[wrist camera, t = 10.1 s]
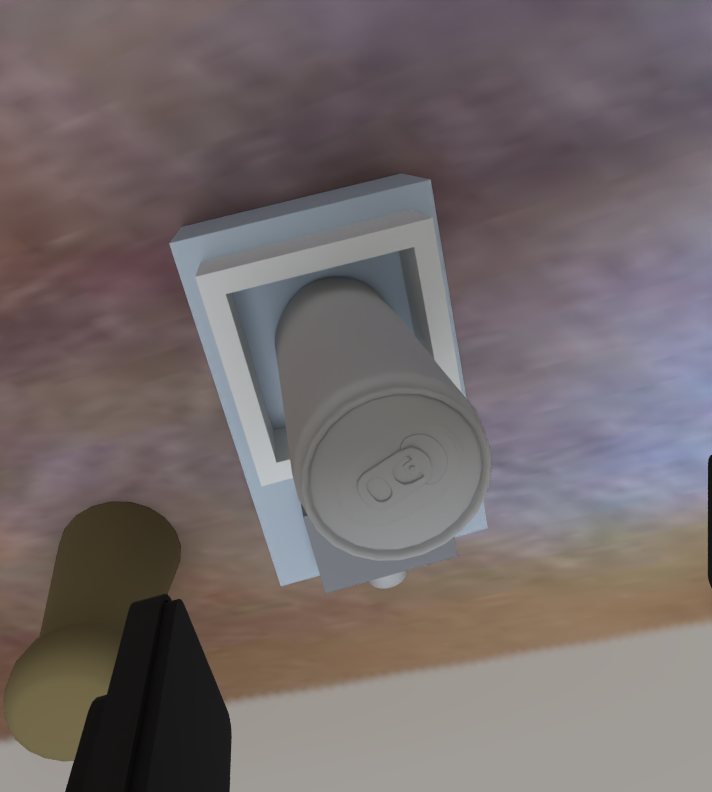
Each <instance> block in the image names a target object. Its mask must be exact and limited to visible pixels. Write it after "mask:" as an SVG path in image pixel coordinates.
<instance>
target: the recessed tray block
mask: <svg viewBox="0 0 712 792" xmlns="http://www.w3.org/2000/svg"><path fill="white" fill-rule="evenodd" d="M169 244H170V247H171V250H172V253H173V257H174V260H175V263H176V266H177V269H178V272H179V275H180V278H181V281H182V284H183V287H184V290H185V293H186V296H187V299H188V303H189V306H190V309H191V312H192V315H193V318H194V321H195V324H196V327H197V330H198V333H199V336H200V339H201V342H202V345H203V349H204V352H205V355H206V358H207V361H208V364H209V367H210V370H211V373H212V376H213V379H214V382H215V385H216V388H217V391H218V394H219V398H220V401H221V404H222V407H223V410H224V413H225V416H226V419H227V422H228V425H229V428H230V431H231V434H232V437H233V440H234V444H235V447H236V450H237V453H238V456H239V459H240V462H241V465H242V468H243V471H244V474H245V477H246V480H247V483H248V486H249V490H250V493H251V496H252V499H253V502H254V505H255V508H256V511H257V514H258V517H259V520H260V523H261V526H262V529H263V532H264V536H265V539H266V542H267V545H268V548H269V551H270V554H271V557H272V560H273V563H274V566H275V569H276V572H277V575H278V578H279V582H280V585H281V586H284V585H287V584H291V583H294V582H298V581H302V580H305V579H309V578H312V577H316V576H319V575H320V577H321V580H322V584H323V587H324V590H325V594H326V593H329V592H333V591H336V590H340V589H343V588H347V587H350V586H354V585H357V584H361V583H364V582H368V581H369V582H370V584H371V585H373V586H374V587H377V588H390V587H393V586H396V585H397V584H399V583H400V582H402V581H403V579H404V578H405V576H406V571H407V570H410V569H414V568H417V567H421V566H424V565H428V564H431V563H435V562H439V561H442V560H446V559H449V558H453V557H456V556H458V553H457V547H456V542H455V537H458V536H461V535H465V534H469V533H472V532H476V531H479V530H483V529H486V528H487V522H486V515H485V509H484V503H483V502H482V504H481V506H480V508H479V511H478V512H477V513H476V514H475V516H474V517H473V518H472V519H471V521H470V522H469V523H468V524H467V526H466V527H465V528H464V529H463V530H462V531H461V532H459V533H458V534H457V535H456V536H454V537H453V538H452V539H451V540H449V541H448V542H447V543H446V544H444V545H442V546H440V547H438V548H436V549H433V550H431V551H429V552H427V553H425V554H423V555H419V556H415V557H411V558H407V559H403V560H385V561H376V560H371V559H366V558H362V557H357V556H353V555H351V554H349V553H347V552H345V551H343V550H341V549H339V548H337V547H335V546H333V545H332V544H331V543H330V542H329V541H328V540H327V539H326V538H324V537H323V536H322V535H321V534H320V533H319V532H318V531H317V530H316V528H315V526H314V525H313V523H312V521H311V520H310V518H309V516H308V515H307V513H306V511H305V509H304V507H303V506H302V504H301V502H300V501H299V499H298V495H297V491H296V487H295V483H294V479H293V475H292V470H291V462H290V455H289V447H288V440H287V432H286V425H285V417H284V410H283V402H282V394H281V387H280V379H279V372H278V365H277V357H276V350H275V335H276V328H277V325H278V322H279V320H280V317H281V314H282V313H283V311H284V309H285V308H286V306H287V304H288V303H289V301H290V300H291V299H292V298H293V297H294V296H295V295H296V294H297V293H298V292H299V290H300V289H301V288H303V287H305V286H307V285H309V284H311V283H313V282H314V281H316V280H321V279H326V278H330V277H341V278H351V279H354V280H357V281H360V282H363V283H365V284H367V285H368V286H370V287H371V288H373V289H374V290H376V291H377V292H378V293H379V294H380V295H381V296H382V298H383V299H384V300H385V301H386V302H387V303H388V305H389V306H390V307H391V308H392V309H393V311H394V312H395V313H396V314H397V315H398V317H399V318H400V319H401V320H402V322H403V323H404V324H405V325H406V326H407V328H408V329H409V330H410V331H411V332H412V334H413V335H414V336H415V337H416V338H417V340H418V341H419V342H420V343H421V344H422V346H423V347H424V348H425V349H426V350H427V352H428V353H429V354H430V355H431V356H432V358H433V359H434V360H435V361H436V362H437V364H438V365H439V366H440V367H441V369H442V370H443V371H444V372H445V373H446V375H447V376H448V377H449V378H450V379H451V381H452V382H453V383H454V384H455V385H456V387H457V388H458V389H459V390H460V391H461V393H462V394H463V395H464V396H465V397H466V393H465V387H464V381H463V375H462V369H461V363H460V356H459V350H458V344H457V338H456V332H455V326H454V320H453V314H452V307H451V301H450V295H449V289H448V283H447V277H446V271H445V265H444V259H443V252H442V246H441V240H440V234H439V228H438V222H437V216H436V210H435V203H434V197H433V191H432V185H431V180H430V179H426V178H421V177H416V176H412V175H407V174H402V173H401V174H397V175H393V176H388V177H384V178H380V179H376V180H372V181H368V182H364V183H360V184H355V185H351V186H347V187H343V188H339V189H335V190H331V191H327V192H323V193H318V194H314V195H310V196H306V197H302V198H298V199H294V200H290V201H286V202H281V203H277V204H273V205H269V206H265V207H261V208H257V209H253V210H248V211H244V212H240V213H236V214H232V215H228V216H224V217H220V218H216V219H211V220H207V221H203V222H199V223H195V224H191V225H187V226H183V227H181V228H180V229H179V231H178V232H177V234H176V235H175V236H174V238H173V239H172V240H171V242H170V243H169Z"/></svg>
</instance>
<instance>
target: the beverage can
mask: <svg viewBox="0 0 712 792" xmlns="http://www.w3.org/2000/svg"><path fill="white" fill-rule="evenodd" d="M275 350H276V357H277V365H278V372H279V379H280V387H281V394H282V402H283V410H284V417H285V425H286V432H287V440H288V447H289V455H290V462H291V470H292V475H293V479H294V483H295V487H296V491H297V495H298V499H299V501H300V502H301V504H302V506H303V507H304V509H305V511H306V513H307V515H308V516H309V518H310V520H311V521H312V523H313V525H314V526H315V528H316V530H317V531H318V532H319V533H320V534H321V535H322V536H323V537H324V538H326V539H327V540H328V541H329V542H330V543H331V544H332V545H333V546H335V547H337V548H339V549H341V550H343V551H345V552H347V553H349V554H351V555H353V556H357V557H362V558H366V559H371V560H376V561H385V560H403V559H407V558H411V557H415V556H419V555H423V554H425V553H427V552H429V551H431V550H433V549H436V548H438V547H440V546H442V545H444V544H446V543H447V542H448V541H449V540H451V539H452V538H453V537H454V536H456V535H457V534H458V533H459V532H461V531H462V530H463V529H464V528H465V527H466V526H467V524H468V523H469V522H470V521H471V519H472V518H473V517H474V516H475V514H476V513H477V512H478V511H479V508H480V506H481V504H482V502H483V500H484V498H485V496H486V493H487V491H488V487H489V482H490V476H491V471H492V463H491V454H490V446H489V443H488V441H487V439H486V436H485V431H484V428H483V426H482V424H481V421H480V419H479V417H478V414H477V412H476V410H475V408H474V407H473V406H472V405H471V403H470V402H469V401H468V400H467V399H466V397H465V396H464V395H463V394H462V393H461V391H460V390H459V389H458V388H457V387H456V385H455V384H454V383H453V382H452V381H451V379H450V378H449V377H448V376H447V375H446V373H445V372H444V371H443V370H442V369H441V367H440V366H439V365H438V364H437V362H436V361H435V360H434V359H433V358H432V356H431V355H430V354H429V353H428V352H427V350H426V349H425V348H424V347H423V346H422V344H421V343H420V342H419V341H418V340H417V338H416V337H415V336H414V335H413V334H412V332H411V331H410V330H409V329H408V328H407V326H406V325H405V324H404V323H403V322H402V320H401V319H400V318H399V317H398V315H397V314H396V313H395V312H394V311H393V309H392V308H391V307H390V306H389V305H388V303H387V302H386V301H385V300H384V299H383V298H382V296H381V295H380V294H379V293H378V292H377V291H376V290H374V289H373V288H371V287H370V286H368V285H367V284H365V283H363V282H360V281H357V280H354V279H351V278H341V277H330V278H326V279H321V280H316V281H314V282H313V283H311V284H309V285H307V286H305V287H303V288H301V289H300V290H299V292H298V293H297V294H296V295H295V296H294V297H293V298H292V299H291V300H290V301H289V303H288V304H287V306H286V308H285V309H284V311H283V313H282V314H281V317H280V320H279V322H278V325H277V328H276V335H275Z"/></svg>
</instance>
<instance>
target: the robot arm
mask: <svg viewBox="0 0 712 792" xmlns="http://www.w3.org/2000/svg"><path fill="white" fill-rule="evenodd" d="M708 579H709V583H710V585H711V588H712V455H711V456H710V457H709V461H708ZM230 762H231V723H230V718H229V714H228V711H227V708H226V706H225V703H224V701H223V698H222V696H221V694H220V691H219V689H218V686H217V684H216V681H215V679H214V676H213V674H212V671H211V669H210V667H209V664H208V662H207V659H206V657H205V654H204V652H203V649H202V647H201V645H200V642H199V640H198V637H197V635H196V632H195V630H194V627H193V625H192V623H191V620H190V618H189V615H188V613H187V610H186V608H185V605H184V603H183V602H182V600H181V599H177V600H173V601H172V600H171V598H170V597H169V596H168V595H167V594H162V595H158V596H154V597H151V598H147V599H143V600H140V601H136V602H133V603H132V604H131V605H130V608H129V611H128V615H127V619H126V622H125V626H124V630H123V634H122V638H121V642H120V646H119V649H118V653H117V657H116V661H115V665H114V669H113V673H112V676H111V680H110V684H109V688H108V692H107V695H103V696H100V697H96V698H95V700H94V701H93V702H92V703H91V706H90V708H89V710H88V714H87V717H86V721H85V724H84V728H83V731H82V735H81V738H80V742H79V745H78V749H77V752H76V756H75V759H74V763H73V766H72V770H71V773H70V777H69V781H68V784H67V788H66V791H65V792H229V790H230Z"/></svg>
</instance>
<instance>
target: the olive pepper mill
mask: <svg viewBox="0 0 712 792" xmlns="http://www.w3.org/2000/svg"><path fill="white" fill-rule="evenodd" d="M180 552H181V545H180V542H179V539H178V537H177V534H176V531H175V530H174V528H173V527H172V526H171V525H170V524H169V522H168V521H167V520H166V519H165V518H164V517H163V516H161V515H160V514H158V513H157V512H155V511H153V510H152V509H150V508H148V507H145V506H141V505H138V504H135V503H131V502H108V503H104V504H100V505H96V506H92V507H90V508H89V509H87V510H85V511H83V512H82V513H80V514H78V515H77V516H76V517H75V518H74V519H73V520H72V521H71V522H70V523H69V524H68V526H67V527H66V528H65V530H64V532H63V535H62V538H61V541H60V543H59V548H58V552H57V557H56V562H55V566H54V571H53V576H52V580H51V585H50V590H49V594H48V599H47V604H46V609H45V613H44V618H43V623H42V627H41V632H40V637H39V638H37V639H36V640H35V641H34V642H33V643H32V644H31V646H30V647H29V648H28V649H27V650H26V651H25V652H24V653H23V654H22V656H21V657H20V658H19V659H18V660H17V661H16V663H15V665H14V667H13V670H12V672H11V674H10V677H9V679H8V682H7V685H6V688H5V692H4V713H5V719H6V721H7V724H8V726H9V728H10V730H11V732H12V734H13V736H14V737H15V739H16V740H17V741H18V742H19V743H20V744H21V745H22V746H24V747H25V748H26V749H27V750H28V751H30V752H33V753H35V754H37V755H39V756H41V757H44V758H48V759H53V760H59V761H74V759H75V756H76V752H77V749H78V745H79V742H80V738H81V735H82V731H83V728H84V724H85V721H86V717H87V714H88V710H89V708H90V706H91V703H92V702H93V701H94V700H95V698H96V697H100V696H103V695H107V692H108V688H109V684H110V680H111V676H112V673H113V669H114V665H115V661H116V657H117V653H118V649H119V646H120V642H121V638H122V634H123V630H124V626H125V622H126V619H127V615H128V611H129V608H130V605H131V604H132V603H133V602H136V601H140V600H143V599H147V598H151V597H154V596H158V595H162V594H168V591H169V588H170V586H171V583H172V581H173V578H174V576H175V573H176V570H177V568H178V565H179V563H180Z"/></svg>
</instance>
